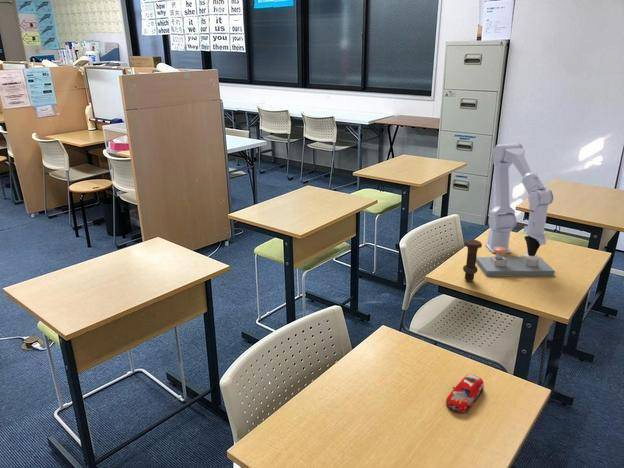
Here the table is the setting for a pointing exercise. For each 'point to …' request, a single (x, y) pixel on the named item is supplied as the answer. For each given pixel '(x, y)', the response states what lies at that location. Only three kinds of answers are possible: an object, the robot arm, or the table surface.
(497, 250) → the terracotta plunger
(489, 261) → the press plate
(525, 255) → the grey plunger
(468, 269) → the bolt
